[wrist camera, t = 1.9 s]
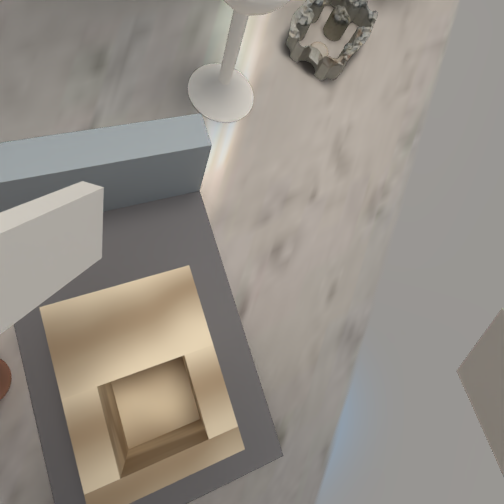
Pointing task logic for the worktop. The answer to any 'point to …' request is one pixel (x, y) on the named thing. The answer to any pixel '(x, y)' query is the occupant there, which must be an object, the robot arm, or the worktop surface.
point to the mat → (218, 321)
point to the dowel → (4, 378)
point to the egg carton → (330, 33)
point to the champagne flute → (228, 69)
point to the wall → (109, 162)
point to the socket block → (140, 386)
